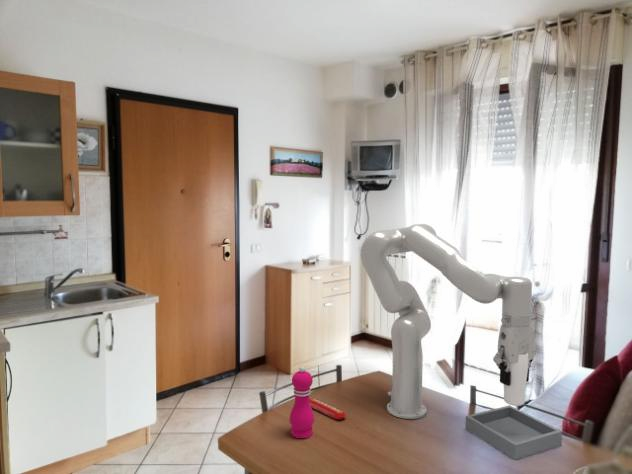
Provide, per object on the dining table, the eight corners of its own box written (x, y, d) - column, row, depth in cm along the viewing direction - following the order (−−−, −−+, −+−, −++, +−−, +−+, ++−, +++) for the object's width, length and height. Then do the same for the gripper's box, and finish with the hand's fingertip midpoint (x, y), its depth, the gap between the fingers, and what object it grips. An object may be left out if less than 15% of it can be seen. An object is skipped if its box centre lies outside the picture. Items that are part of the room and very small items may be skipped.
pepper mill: (284, 433, 128) (284, 366, 127) (301, 425, 133) (302, 360, 132) (301, 442, 123) (302, 372, 122) (319, 433, 129) (320, 366, 127)
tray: (465, 428, 132) (465, 415, 132) (509, 417, 140) (509, 405, 139) (515, 460, 116) (515, 445, 116) (561, 445, 123) (562, 431, 123)
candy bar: (347, 420, 138) (347, 410, 138) (339, 423, 135) (339, 414, 135) (312, 403, 149) (312, 394, 149) (304, 406, 147) (304, 397, 147)
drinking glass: (529, 408, 123) (531, 356, 122) (503, 406, 124) (505, 354, 123) (523, 398, 130) (525, 348, 129) (498, 396, 131) (500, 347, 130)
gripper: (504, 326, 119) (502, 392, 120) (548, 320, 126) (546, 382, 127) (483, 320, 125) (481, 382, 126) (526, 314, 133) (524, 373, 134)
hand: (514, 381), depth 127 cm, fingers closed on drinking glass, 6 cm apart
